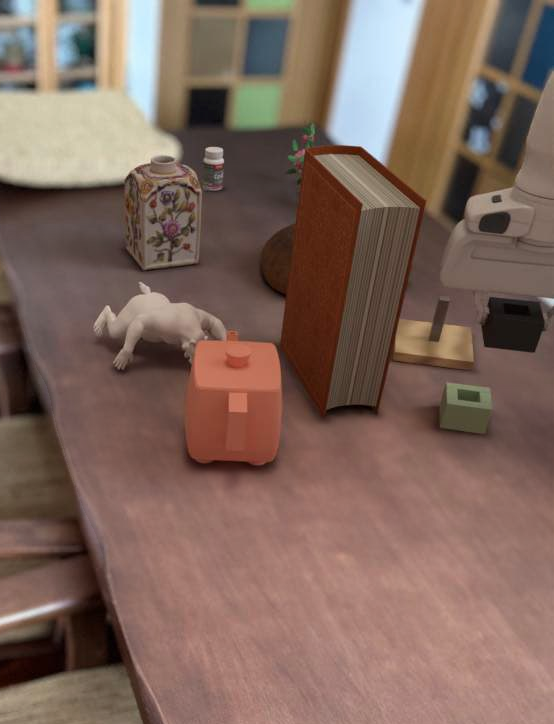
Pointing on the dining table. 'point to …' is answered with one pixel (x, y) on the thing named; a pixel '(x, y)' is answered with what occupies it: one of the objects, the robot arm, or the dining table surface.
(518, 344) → the black hollow square block
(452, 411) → the green hollow square block
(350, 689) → the dining table surface
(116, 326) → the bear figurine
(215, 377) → the teapot
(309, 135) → the flower vase
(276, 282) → the bread
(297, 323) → the book
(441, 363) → the base board
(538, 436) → the dining table surface
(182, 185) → the decorative jar
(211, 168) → the pill bottle
